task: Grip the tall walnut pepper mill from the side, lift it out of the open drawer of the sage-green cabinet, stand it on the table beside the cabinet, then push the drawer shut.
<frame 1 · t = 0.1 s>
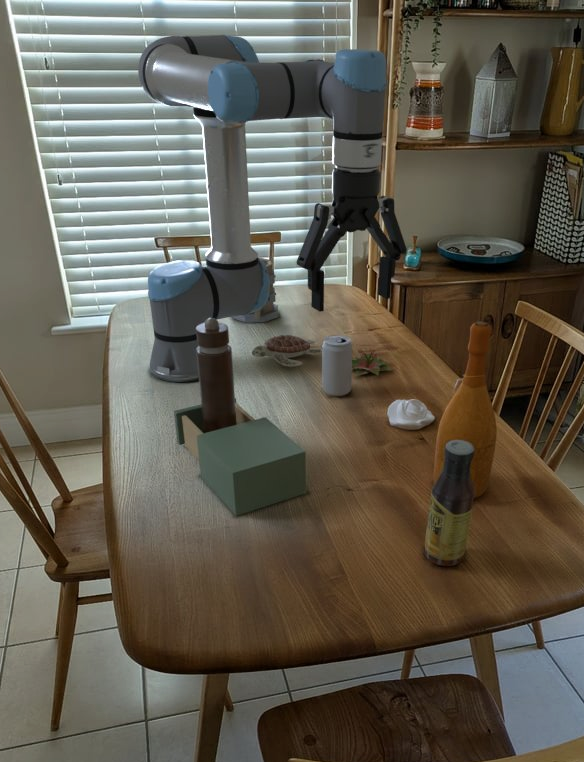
hand: (351, 302, 125), 28 cm above the table, tool pointing down, fingers open, 13 cm apart
beverage can: (336, 392, 160), on the table
cabinet: (252, 484, 128), on the table
wine bottle: (459, 488, 129), on the table
sauce bottle: (443, 557, 112), on the table
drawer: (218, 432, 135), point 4 cm above the table, slide at 11.0 cm, touching pepper mill
rose: (410, 420, 150), on the table
decorative turtle: (285, 356, 176), on the table
pepper mill: (221, 445, 136), point 2 cm above the table, touching drawer
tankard: (255, 319, 196), on the table
lily flower: (367, 369, 171), on the table
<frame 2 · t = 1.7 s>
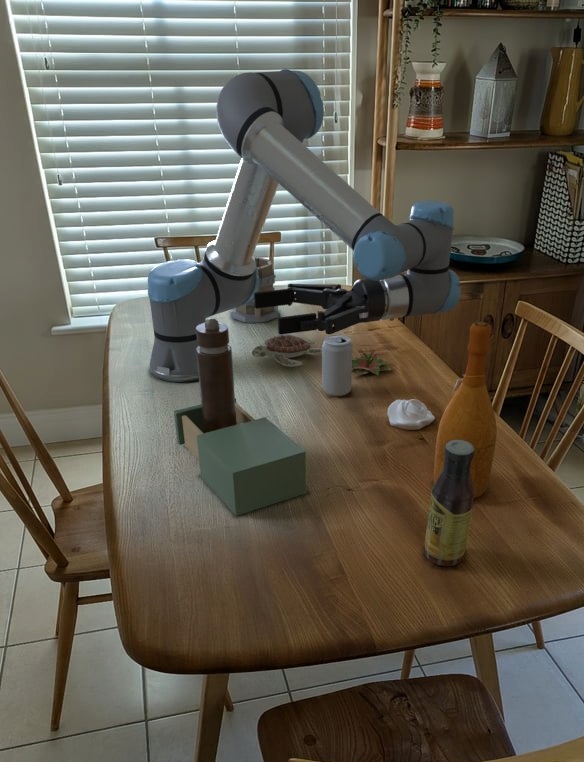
hand: (266, 312, 125), 26 cm above the table, tool horizontal, fingers open, 13 cm apart
nothing on the table moved.
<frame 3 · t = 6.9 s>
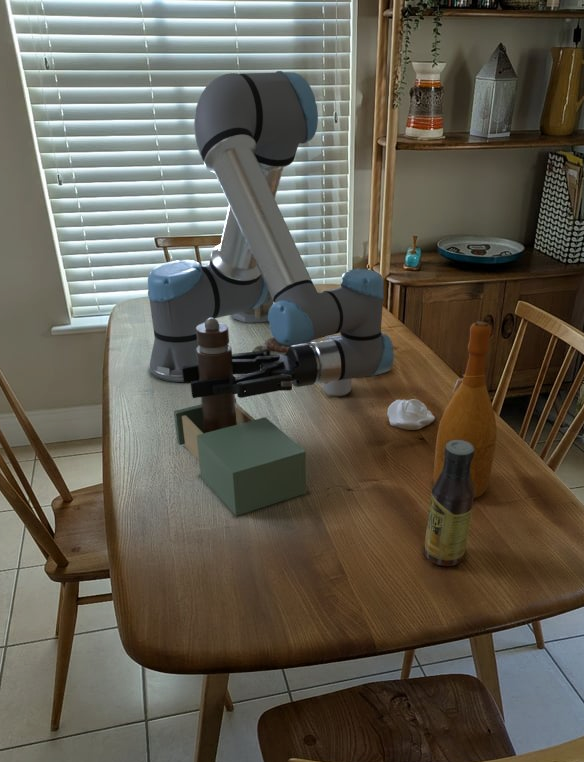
hand: (187, 382, 126), 16 cm above the table, tool horizontal, fingers closed on pepper mill, 6 cm apart
pepper mill: (221, 445, 136), point 2 cm above the table, touching drawer, gripper
everything else where it was.
when the fingers open (14 cm above the table, at t = 16.3 s): pepper mill stays where it is, on the table.
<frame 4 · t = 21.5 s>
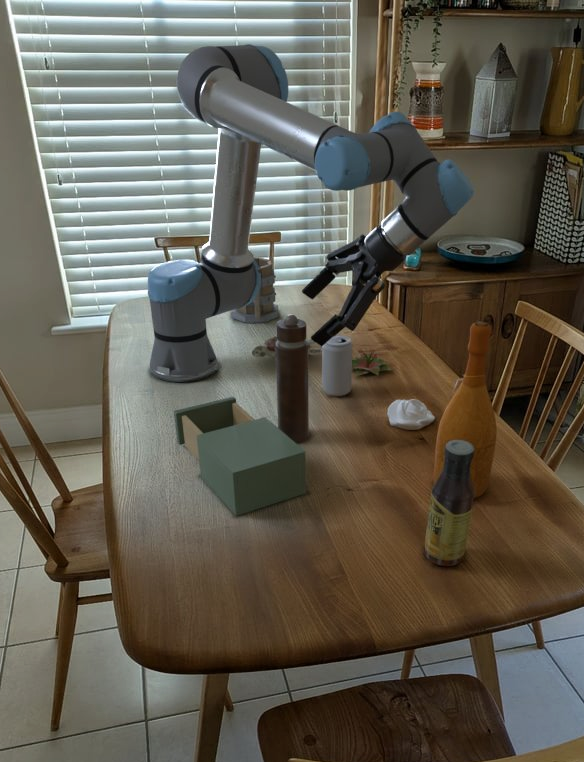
hand: (311, 317, 138), 21 cm above the table, tool tilted 45°, fingers open, 13 cm apart
drawer: (218, 432, 135), point 4 cm above the table, slide at 11.0 cm
pepper mill: (293, 435, 143), on the table
everything else where it was.
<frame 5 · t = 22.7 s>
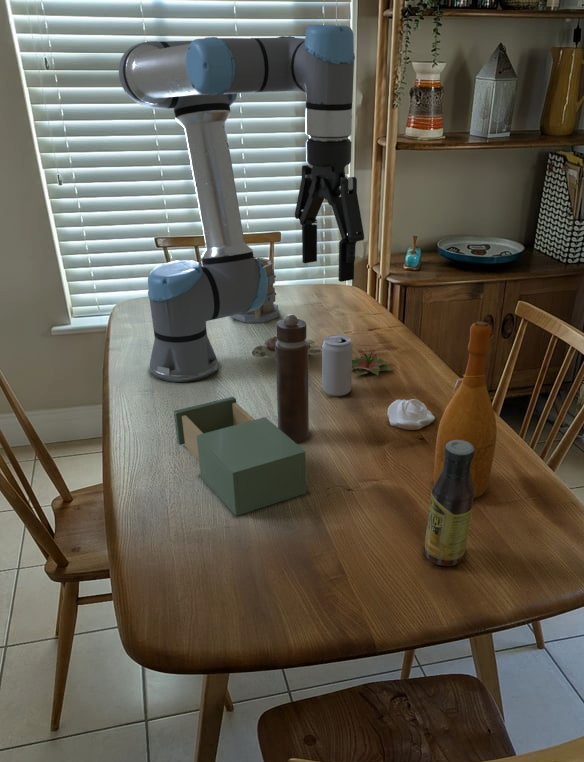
hand: (327, 270, 132), 30 cm above the table, tool pointing down, fingers open, 12 cm apart
nothing on the table moved.
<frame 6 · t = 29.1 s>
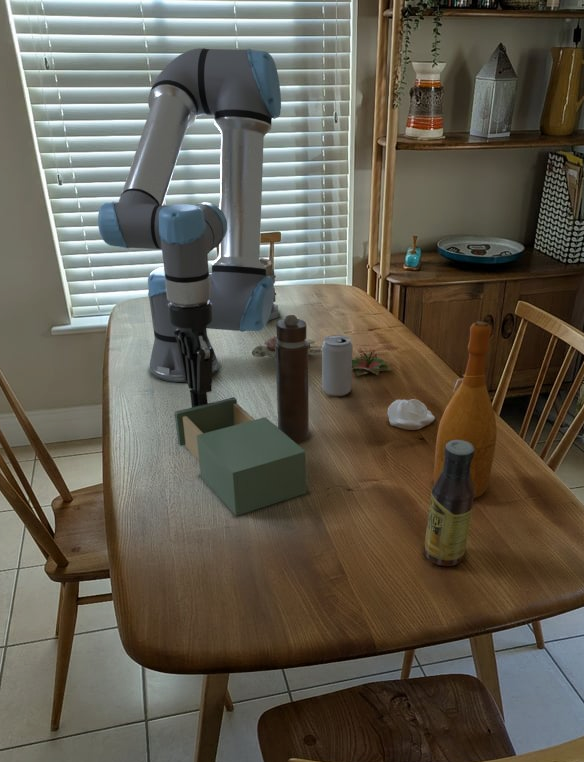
hand: (201, 420, 141), 3 cm above the table, tool pointing down, fingers closed
drawer: (219, 433, 135), point 4 cm above the table, slide at 10.7 cm, touching gripper
everything else where it was.
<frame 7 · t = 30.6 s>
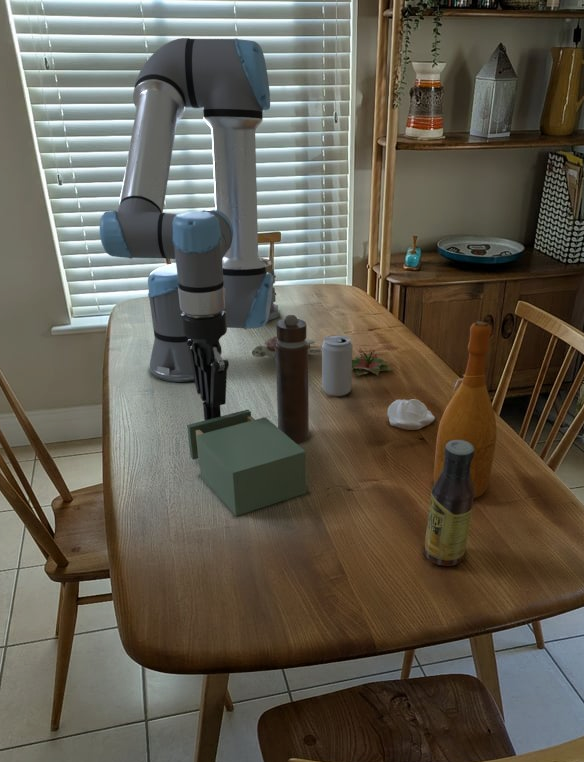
hand: (214, 433, 137), 3 cm above the table, tool pointing down, fingers closed
drawer: (233, 447, 131), point 4 cm above the table, slide at 4.7 cm, touching gripper
everything else where it was.
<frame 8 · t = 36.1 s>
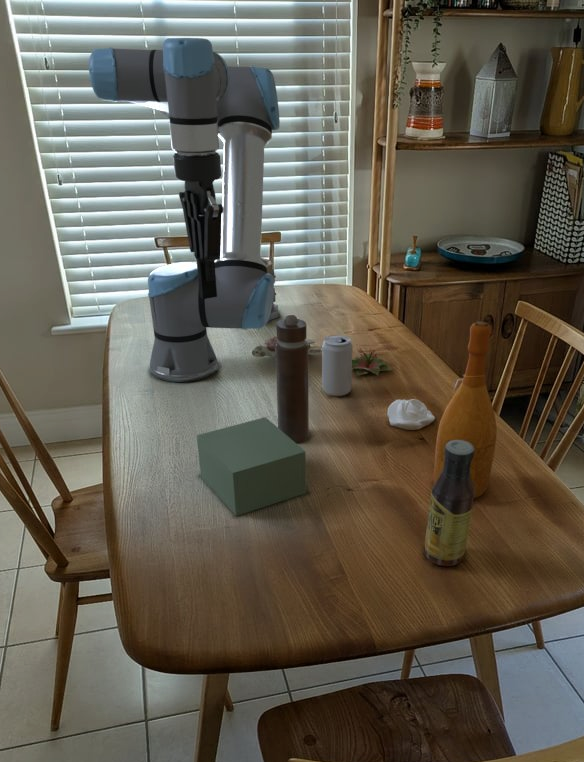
hand: (208, 296, 131), 26 cm above the table, tool pointing down, fingers closed
drawer: (245, 458, 128), point 4 cm above the table, slide at 0.0 cm, touching cabinet
everything else where it was.
at the end: pepper mill inside the target area (0.1 cm from its centre), on the table; pepper mill tilted 0°; drawer slide at 0.0 cm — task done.
